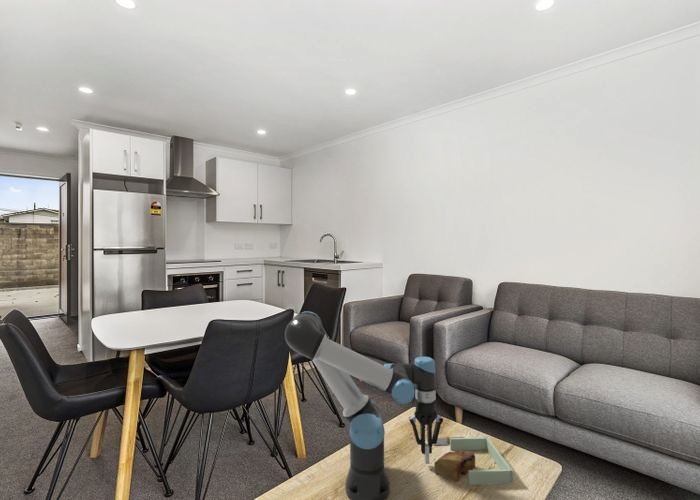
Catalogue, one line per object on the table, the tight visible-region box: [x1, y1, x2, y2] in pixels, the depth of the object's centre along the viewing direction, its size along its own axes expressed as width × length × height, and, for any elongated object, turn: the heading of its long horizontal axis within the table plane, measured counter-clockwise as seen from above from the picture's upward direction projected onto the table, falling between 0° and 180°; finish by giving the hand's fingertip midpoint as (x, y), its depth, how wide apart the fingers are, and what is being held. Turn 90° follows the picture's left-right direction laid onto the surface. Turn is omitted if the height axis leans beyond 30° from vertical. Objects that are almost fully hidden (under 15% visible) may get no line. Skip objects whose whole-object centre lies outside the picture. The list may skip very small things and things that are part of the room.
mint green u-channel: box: [449, 436, 514, 486], centre depth 137 cm, size 16×22×4 cm
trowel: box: [433, 436, 466, 446], centre depth 152 cm, size 14×4×2 cm, turn 91°
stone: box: [434, 450, 476, 482], centre depth 134 cm, size 15×9×5 cm, turn 128°
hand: (426, 461), depth 136 cm, fingers closed
